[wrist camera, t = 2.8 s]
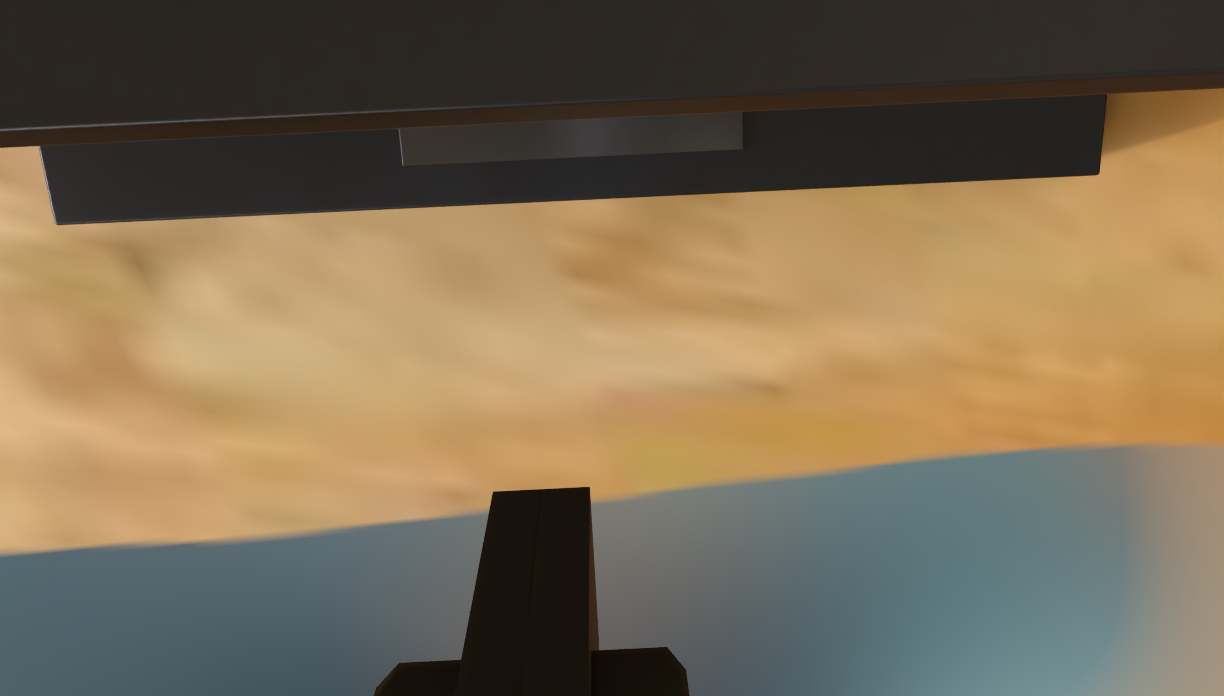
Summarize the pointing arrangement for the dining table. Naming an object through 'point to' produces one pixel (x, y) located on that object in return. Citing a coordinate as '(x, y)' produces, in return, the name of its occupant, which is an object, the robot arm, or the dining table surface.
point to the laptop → (575, 159)
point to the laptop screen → (560, 60)
